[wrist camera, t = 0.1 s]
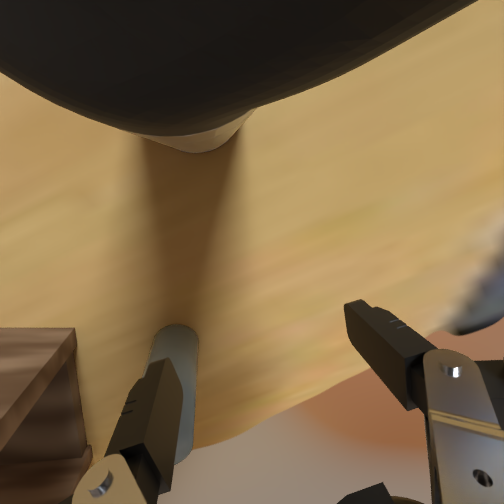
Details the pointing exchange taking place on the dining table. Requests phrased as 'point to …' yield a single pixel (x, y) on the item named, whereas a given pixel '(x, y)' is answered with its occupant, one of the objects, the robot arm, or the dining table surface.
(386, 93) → the dining table surface
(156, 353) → the grey cylinder
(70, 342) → the open wooden box frame
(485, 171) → the dining table surface
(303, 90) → the robot arm
